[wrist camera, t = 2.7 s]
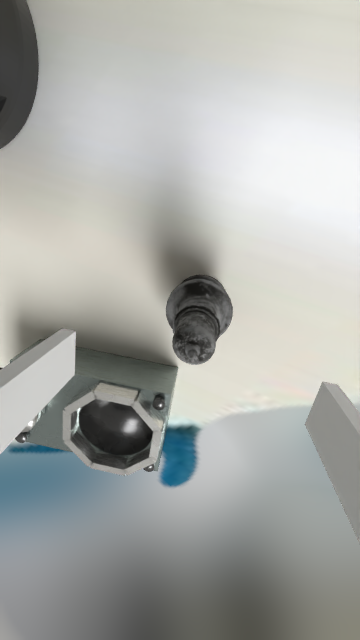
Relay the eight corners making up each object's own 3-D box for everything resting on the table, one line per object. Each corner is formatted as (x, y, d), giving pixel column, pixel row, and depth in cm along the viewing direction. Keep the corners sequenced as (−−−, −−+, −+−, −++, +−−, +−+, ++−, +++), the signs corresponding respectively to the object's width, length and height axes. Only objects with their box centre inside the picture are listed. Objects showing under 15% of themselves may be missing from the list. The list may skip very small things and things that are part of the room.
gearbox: (42, 409, 34) (2, 453, 28) (40, 339, 31) (-7, 371, 24) (165, 436, 33) (153, 488, 27) (178, 367, 30) (168, 408, 23)
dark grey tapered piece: (196, 338, 28) (185, 415, 17) (159, 296, 27) (122, 348, 16) (242, 306, 27) (263, 367, 15) (205, 259, 25) (199, 288, 14)
